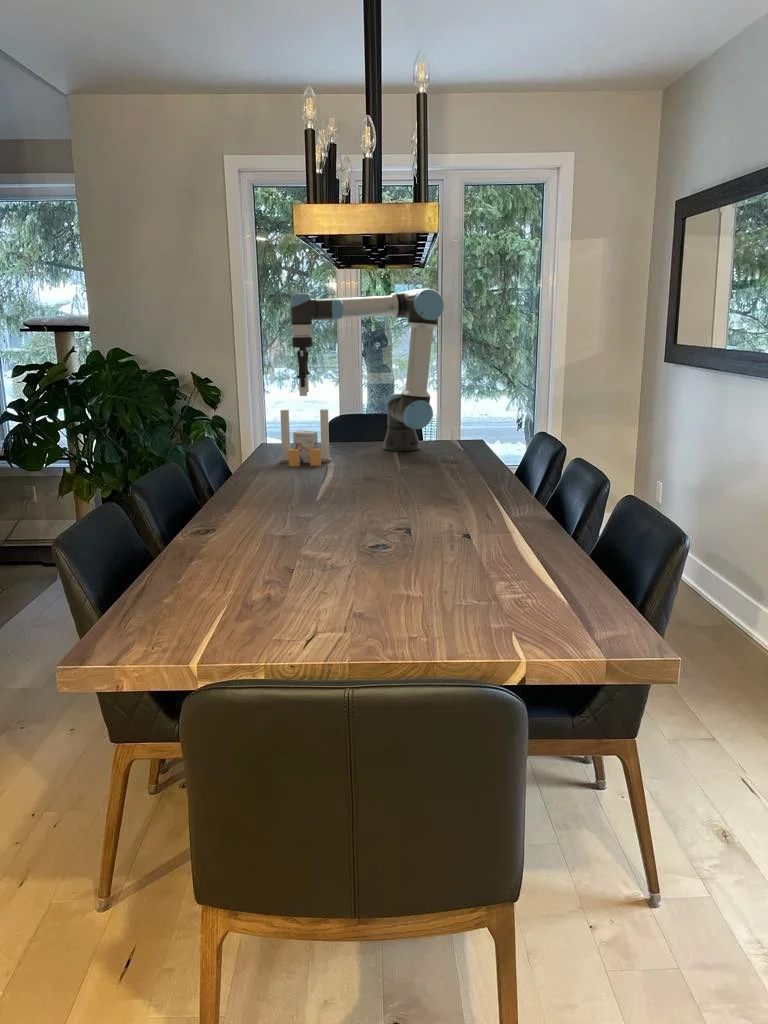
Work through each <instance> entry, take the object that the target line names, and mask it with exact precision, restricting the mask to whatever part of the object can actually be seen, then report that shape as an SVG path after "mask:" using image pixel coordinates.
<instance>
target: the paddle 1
mask: <svg viewBox="0 0 768 1024" xmlns="http://www.w3.org/2000/svg"><path fill="white" fill-rule="evenodd" d="M288 453H289V463H288V466H289V467H300V466H301V462H300V449H294V448H290V449H289V450H288Z"/></svg>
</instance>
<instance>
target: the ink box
mask: <svg viewBox="0 0 768 1024" xmlns="http://www.w3.org/2000/svg"><path fill="white" fill-rule="evenodd" d="M292 437H293V438H292V439H293V440H292V441H293V442H292V443H293V449H300V463H303V464H304V463H306V464H308V463H309V464H310V449H319V446H318V445H319V444H318V443H319V439H318V438H319V437H318V431H316V430H306V429H304V430H302V429H298V430H295V431H293V432H292Z"/></svg>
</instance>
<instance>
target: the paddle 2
mask: <svg viewBox="0 0 768 1024" xmlns="http://www.w3.org/2000/svg"><path fill="white" fill-rule="evenodd" d="M309 464H310V465H309V466H311V467H312V466H313V467H316V466H317V467H319V466H320V467H321V466H322V462H321V448H318V449H310V463H309Z"/></svg>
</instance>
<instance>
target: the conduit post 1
mask: <svg viewBox="0 0 768 1024" xmlns="http://www.w3.org/2000/svg"><path fill="white" fill-rule="evenodd" d="M290 428H291V427H290V410H289V409H280V433H281V439H280V440H281V458H280V461H279V462H280V464H289V453H288V450H289V449H291V435H290V434H291V432H290V431H291V429H290Z"/></svg>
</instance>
